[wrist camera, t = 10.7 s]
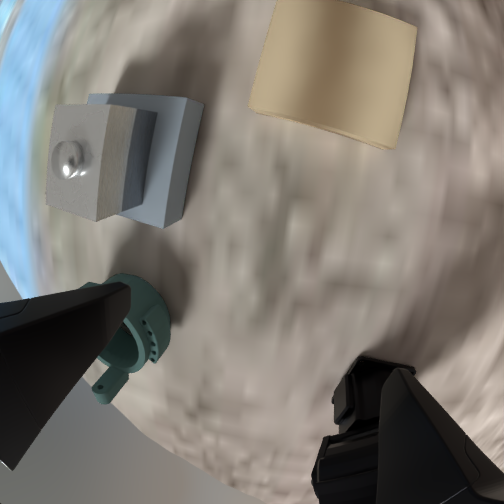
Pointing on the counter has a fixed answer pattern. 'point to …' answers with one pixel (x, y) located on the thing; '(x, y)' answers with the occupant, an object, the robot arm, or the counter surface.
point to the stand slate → (163, 153)
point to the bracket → (133, 348)
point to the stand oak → (336, 69)
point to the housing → (98, 158)
